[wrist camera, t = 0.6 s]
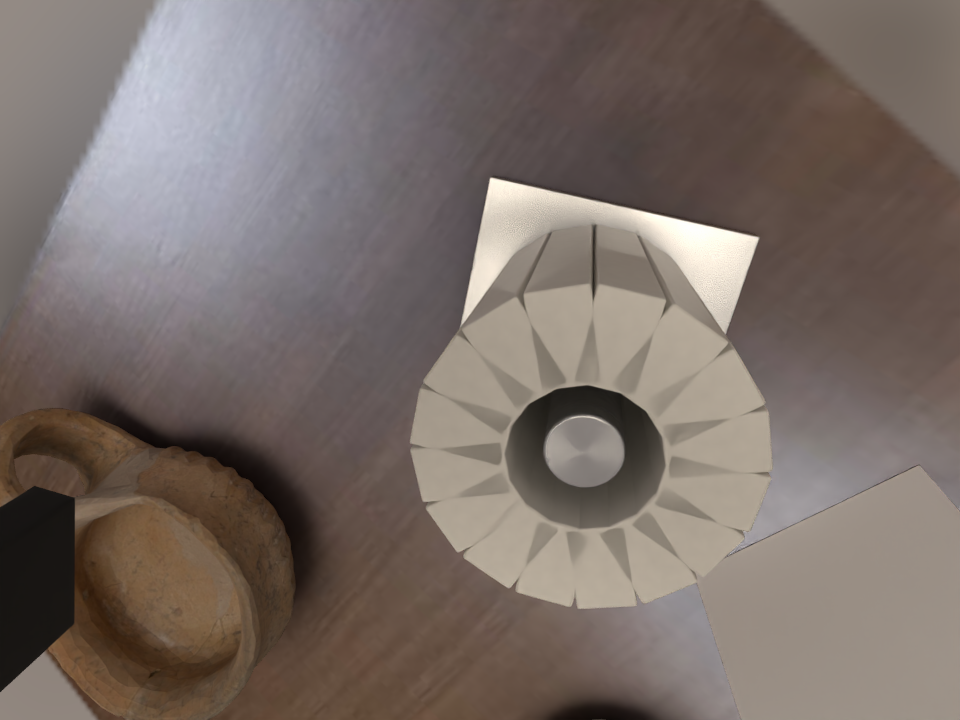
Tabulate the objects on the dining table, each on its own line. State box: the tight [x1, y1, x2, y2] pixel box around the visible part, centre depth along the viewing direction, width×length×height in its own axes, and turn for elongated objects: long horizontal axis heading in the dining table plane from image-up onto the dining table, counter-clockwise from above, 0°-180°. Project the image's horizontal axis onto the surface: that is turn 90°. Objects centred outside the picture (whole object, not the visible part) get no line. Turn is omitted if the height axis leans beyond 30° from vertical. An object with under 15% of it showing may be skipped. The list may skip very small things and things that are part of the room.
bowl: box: [0, 408, 295, 720], centre depth 35 cm, size 18×14×10 cm
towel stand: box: [460, 176, 760, 488], centre depth 25 cm, size 12×12×14 cm
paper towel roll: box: [410, 225, 773, 609], centre depth 25 cm, size 10×10×13 cm
